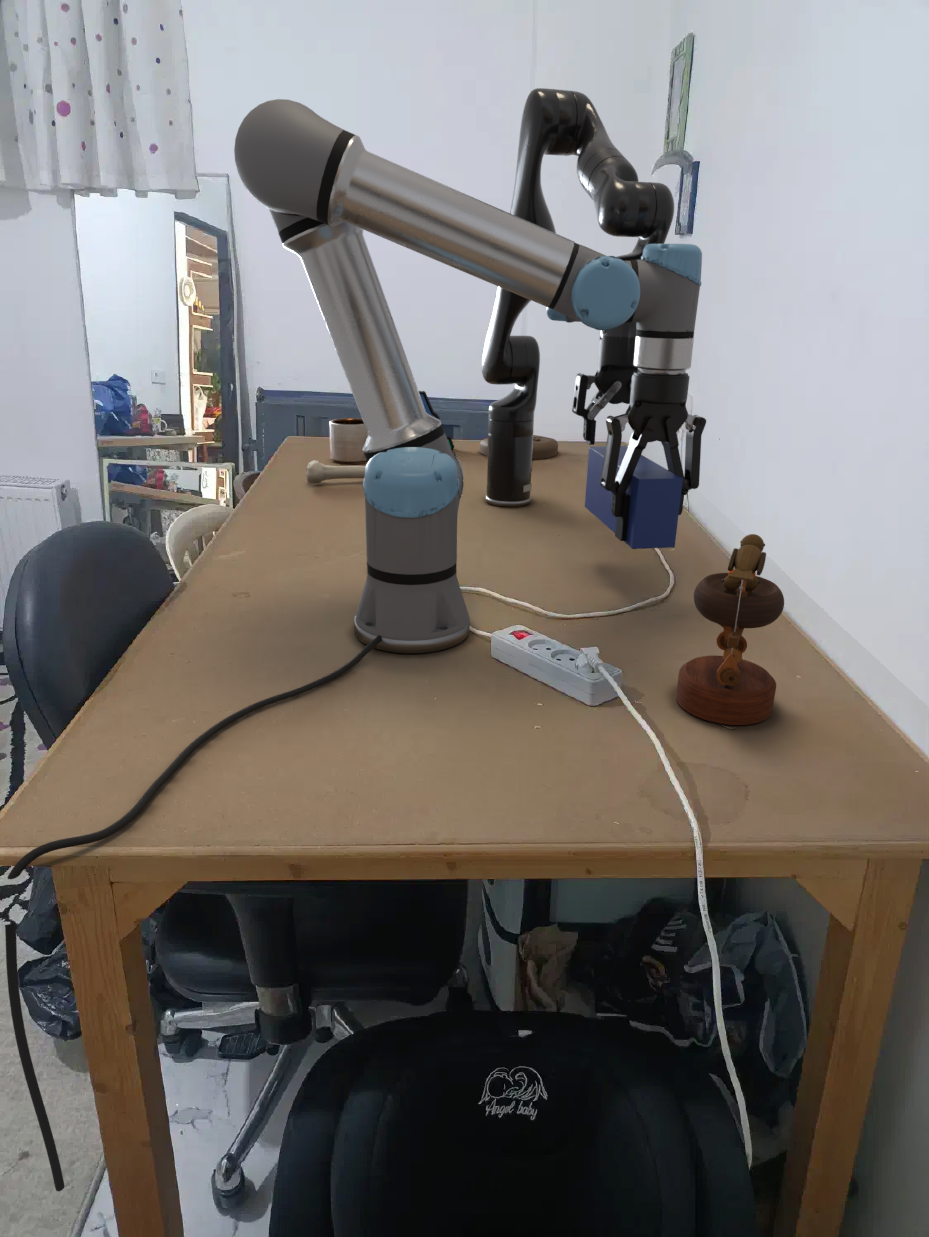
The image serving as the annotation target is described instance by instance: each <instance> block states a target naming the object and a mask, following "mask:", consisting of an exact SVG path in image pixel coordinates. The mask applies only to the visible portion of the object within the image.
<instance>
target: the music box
mask: <svg viewBox="0 0 929 1237" xmlns="http://www.w3.org/2000/svg"><path fill="white" fill-rule="evenodd" d="M741 539H742V540H740V541H739V543H740V544H739V545H740V547H739V548H737V547H735V548H733V550H732V552H731V556H730V559H729V562H728V565H727V571H728V572H717V573H716V572H715V573H712V574H708V575H707V576H705V577H703V578H702V579H701V580H700V581H699V582H698V583H697V584H696V586H695V588H694V592H693V603H694V606H695V608H696V610H697V611H698V613H699V614H700V615H701V616H702V617H703V618H705V619H706V620H708V621H710V622H712V623H715V624H717V625H719V626H720V627H722V628H723V630H722V631H721V632H719V633H718V635H717V637H716V645H717V647H718V649H720V650H722V651H723V653H722V655H702V656H698V657H694V658H693V659H690V660H689V661H687V662H685V663H684V664H682V666H680V668H679V670H678V678H677V685H676V694H675V699H676V702H677V703H678V705H679V706H680V707H681V708H682V709H683V710H684V711H686V712H687V713H689V714H691V715H692V716H694V717H696V718H699V719H701V720H705V721H707V722H712V723H716V724H721V725H729V726H746V725H748V726H749V725H753V724H758V723H760V722H763V721H765V720H767V719H769V717H770V716H771V715H772V713H773V708H774V702H775V697H776V692H777V681H776V680H775V678H774V677H773V676H772V674H770V672H768V670H766V668H764V667H763V666H760V665H759V664H757V663H755V662H752V661H750V660H746V659H743V653H745V652H746V651H747V648H748V641H747V639H746V638H745V637H744V636H743V633H744V630H745V629H758V628H759V629H760V628H763V627H766V626H769V625H771V624H772V623H775V621H777V620H778V618H779V617H780V616H781V615H782V613H783V610H784V608H785V607H784V606H785V597H784V594H783V591H782V590H781V588H780V587H779V586H778V585H777V584H776V583H775V582H773V581H771V580H770V579H767V578H764V577H761V575H762V573H763V571H764V568H765V564H766V560H767V552H766V551H764V549H765V547H766V543H765V542H764V539H763V538H762V537H761V536H760V535H758V534H755V533H750V534H747V535H745V536H744V537H742V538H741Z"/></svg>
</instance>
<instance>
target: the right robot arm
mask: <svg viewBox="0 0 929 1237" xmlns="http://www.w3.org/2000/svg"><path fill="white" fill-rule="evenodd" d="M517 148H518V149H517V159H516V167H515V176H514V177H515V178H514V186H513V192H512V199H511V205H510V212H509V213H510V214H512V215H515V216H517V217H519V218H521V219H524V220H526V221H528V222H531V223H533V224H535V225H537V226H540V227H542V228H544V229H547V230H549V231H551V232H554V233H556V234H557V231H556V227H555V224H554V220H553V218H552V215H551V212H550V209H549V207H548V204H547V202H546V198H545V195H544V191H543V188H542V187H543V186H542V164H543V158H544V155H545V156H561V157H569V156H576V157H577V159H576V160H577V161H576V165H575V166H576V175H577V179H578V182H579V184H580V186H581V187H582V189H583V190H584V191H585V193H586V194H587V195H588V196H589V197H590V199H591V200H592V201H593V205H594V209H595V212H596V213H595V214H596V219H597V224H598V226H599V228H600V229H601V230H602V232H604V233H606V234H607V235H609V236H612V237H617V238H637V241H636V243H635V246H634V248H633V249H632V250H631V252H629V253H626V254H621V255H617V256H616V257H617V258H619V259H621V260H623V261H630V260H641V256H642V255H643V250H644V247H645V246H646V245H648V244H666V243H665V242H666V241H667V237H668V235H669V232H670V229H671V226H672V223H673V220H674V214H675V199H674V195H673V193H672V191H671V189H670V188H669V186H668V185H666V184H664V183H661V182H652V181H639V176H638V173H637V170H636V168H635V167H634V166H633V165H632V163H631V162H630V161H629V160H628V159H627V158H626V156H624V155H623V153H622V152H621V151H620V150H619V149H618V148H617V147H616V146H615V144H614V143H613V142H612V139H610V136H609V133H608V132H607V130H606V127H605V125H604V123H603V120H602V119H601V117H600V115H599V113H598V110H597V108H596V107H595V105H594V103H593V102H592V101H591V99H590V98H589V97H588V96H587V95H586V94H585V93H582V92H580V91H576V90H567V89H557V88H556V89H555V88H547V87H541V88H539V87H537V88H534V89H532V90H531V91H530V93H529V94H528V95H527V98H526V100H525V102H524V106H523V111H522V115H521V122H520V130H519V138H518V147H517ZM531 302H532V300H529V299H527V298H525V297H522V296H520V295H517V294H515V293H513V292H510V291H508V290H506V289H503V288H501V287H498V286H496V293H495V298H494V303H493V307H492V312H491V315H490V316H491V317H490V318H489V323H488V327H487V330H486V335H485V337H484V338H485V339H484V343H483V348H482V354H481V363H480V364H481V374H482V377H483V379H484V381H485V382H486V383H488V384H490V385H514V386H513V389H512V391H511V392H509V393H508V394H507V395H506V396H504V397H501V398H500V399H498V400H494V401H493V402H492V403H490V404H489V406H488V419H487V420H488V424H487V435H488V436H487V438H488V456H487V458H486V459H487V461H486V462H487V467H486V495H485V502H486V503H488V504H489V505H493V506H497V507H510V508H511V507H512V508H513V507H522V506H528V505H529V504H530V503H531V501H532V500H531V498H532V497H531V491H532V489H533V483H532V470H533V459H532V451H533V435H534V427H535V426H534V424H535V411H536V406H537V400H538V388H539V387H538V386H539V376H540V367H541V366H540V365H541V352H540V346H539V342H538V341H537V339H536V338H535V337H534V336H531V335H512V331H513V328H514V326H515V324H516V322H517V320H518V318H519V316H520V315H521V314H522V312H523V311H524V310H525V308H526V307H527V306H528V305H529V304H530V303H531ZM635 338H636V322H631V323H625V322H624V323H623V324H621V325H619V326H617V327H614V328H611V329H609V330H599V339H598V340H599V342H598V356H597V357H598V358H597V370H596V372H595V374H594V375H593V374H585V373H580V372H579V373H577V374H576V376H575V382H574V390H573V398H572V407H571V411H572V413H573V414H575V415H576V416H579V417H582V419H583V426H582V428H583V430H582V438H583V440H584V441H585V442H586V444H588V445H589V446H594V445H595V442H596V431H597V430H596V428H597V420H595V418H596V417H597V416H598V415H599V413H600V412H601V411H602V410H603V409H604V408H605V407H606V406H607V405H608V404H611V405H619V404H626V405H629V404H630V392H631V381H632V374H633V373H634V371H637V368H636V367H634V365H633V361H634V350H635ZM593 384H594V385H595V387H596V389H597V390H598V391H596V393H595V395H593V397H592V398H591V400H590V402H589V404H588V405H587V407H586V399H587V392H588V390H590V389H591V387H592V385H593Z"/></svg>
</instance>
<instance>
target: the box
mask: <svg viewBox="0 0 929 1237" xmlns="http://www.w3.org/2000/svg"><path fill="white" fill-rule="evenodd" d="M627 448H628V446H627V445H621V446H620V453H619V459H618V465H617V471H616V476H617V473H618V471H619V468H620V466H621V463H622V461H623V458H624V456H625V453H626V451H627ZM605 449H606V445H603V446H588V454H587V455H588V458H587V468H586V470H587V471H586V481H585V482H586V484H585V495H584V496H585V497H584V508H585V509H586V510H588V512H590V513H591V514H592V515H593V516H595V517H596V518H597V520H599V521H601V523H602V524H603V525H605V526H606V527H607V528H608V529H609V530H610V531H611V532H613V534H615V532H616V521H617V517H615V516H614V515H612V512H611V507H612V496H613V493H612V492H611V491H607V490H606V489H605V488H603V487H602V486H601V485H600V480H601V474H602V468H603V461H604V455H605ZM615 478H616V477H615ZM682 481H683V478H681V477H679V476H678V475H676V474H674V473H672V472H670V471H669V470H668V468H666V467H663V466H662V465H660V464H659V463H657V462H655V461H653V460H651V459H650V458H648V457H646V456H644V455H643V454H641V456H640V459H639V461H638V463H637V466H636V468H635V471H634V473H633V475H632V478H631V480H630V483H629V485H628V488H627V490H626V493H627V494H629V495H630V496H631V497H630V507H629V518H628V529H627V539H626V541H623V543H624V544H626V546H629V548H630V549H631V550H641V549H642V550H643V549H668V548H671V549H672V548H675V547H676V541H677V540H676V539H677V533H678V531H677V530H678V522H679V516H680V515H679V507H680V498H681V490H682Z"/></svg>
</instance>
